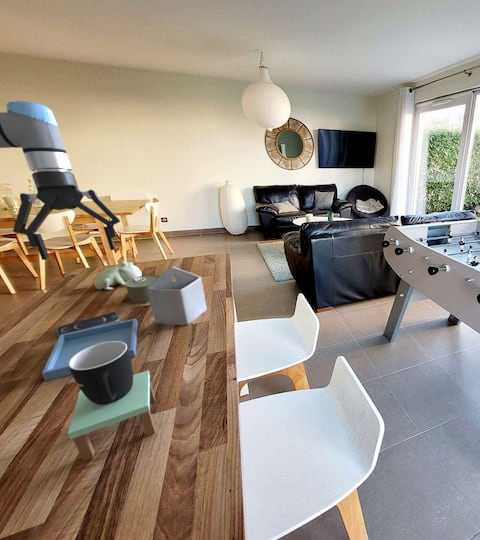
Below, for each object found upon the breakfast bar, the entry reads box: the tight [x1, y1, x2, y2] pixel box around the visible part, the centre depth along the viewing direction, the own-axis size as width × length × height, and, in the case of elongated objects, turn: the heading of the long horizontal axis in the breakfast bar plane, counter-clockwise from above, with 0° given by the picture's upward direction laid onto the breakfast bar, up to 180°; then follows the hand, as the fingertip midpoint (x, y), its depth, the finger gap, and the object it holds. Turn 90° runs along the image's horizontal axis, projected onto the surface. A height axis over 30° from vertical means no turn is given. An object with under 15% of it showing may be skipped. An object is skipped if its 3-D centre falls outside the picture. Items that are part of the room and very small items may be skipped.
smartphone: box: [56, 311, 120, 338], centre depth 96 cm, size 8×1×15 cm
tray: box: [41, 318, 139, 382], centre depth 85 cm, size 19×20×2 cm
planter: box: [147, 266, 208, 326], centre depth 98 cm, size 16×8×19 cm, turn 131°
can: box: [124, 274, 161, 304], centre depth 116 cm, size 12×12×7 cm
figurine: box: [94, 259, 143, 291], centre depth 124 cm, size 10×16×10 cm, turn 134°
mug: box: [68, 341, 134, 405], centre depth 58 cm, size 12×9×10 cm
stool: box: [67, 370, 156, 462], centre depth 61 cm, size 12×12×8 cm
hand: (81, 254), depth 77 cm, fingers open, 13 cm apart
